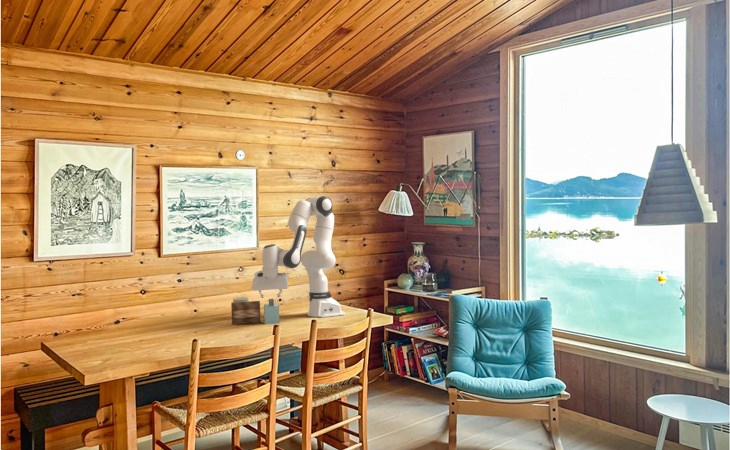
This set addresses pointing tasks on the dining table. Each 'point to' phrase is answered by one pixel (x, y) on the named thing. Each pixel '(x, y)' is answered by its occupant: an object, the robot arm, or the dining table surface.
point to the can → (240, 299)
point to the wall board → (245, 312)
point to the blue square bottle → (271, 312)
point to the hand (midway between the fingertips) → (270, 297)
